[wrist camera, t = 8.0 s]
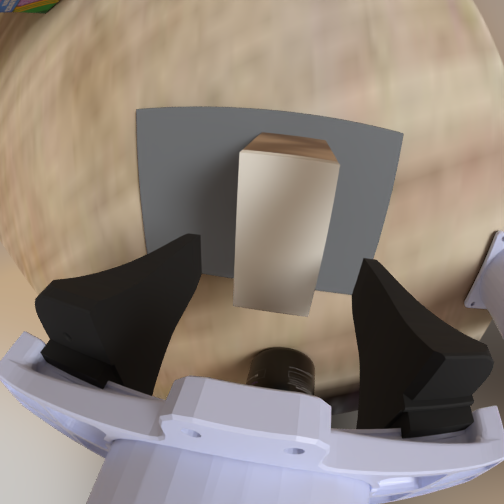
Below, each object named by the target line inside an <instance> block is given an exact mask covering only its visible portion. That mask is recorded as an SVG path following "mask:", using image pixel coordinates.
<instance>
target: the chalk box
mask: <svg viewBox="0 0 504 504" xmlns="http://www.w3.org/2000/svg"><path fill="white" fill-rule="evenodd" d="M58 1H60V0H0V12H27V13H46V12H48V10H50V9H51V8H52V7H53V6H54V5H55V4H56V3H57V2H58Z"/></svg>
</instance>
